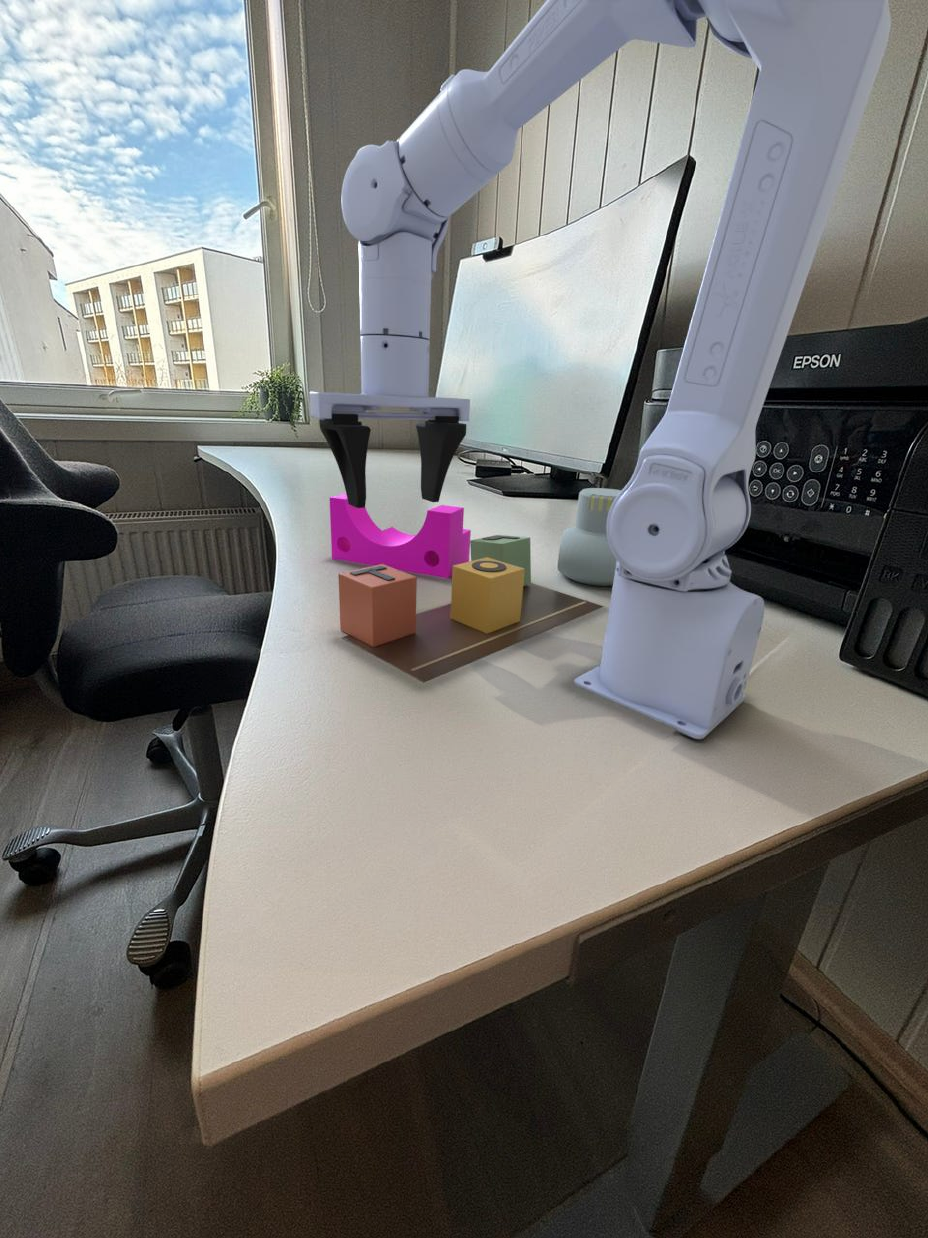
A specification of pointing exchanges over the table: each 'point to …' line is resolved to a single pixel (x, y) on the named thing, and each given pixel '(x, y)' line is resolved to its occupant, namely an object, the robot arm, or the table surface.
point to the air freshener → (589, 540)
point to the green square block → (505, 551)
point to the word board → (473, 634)
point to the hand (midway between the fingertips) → (395, 503)
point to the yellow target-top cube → (486, 594)
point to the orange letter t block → (377, 604)
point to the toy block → (400, 540)
